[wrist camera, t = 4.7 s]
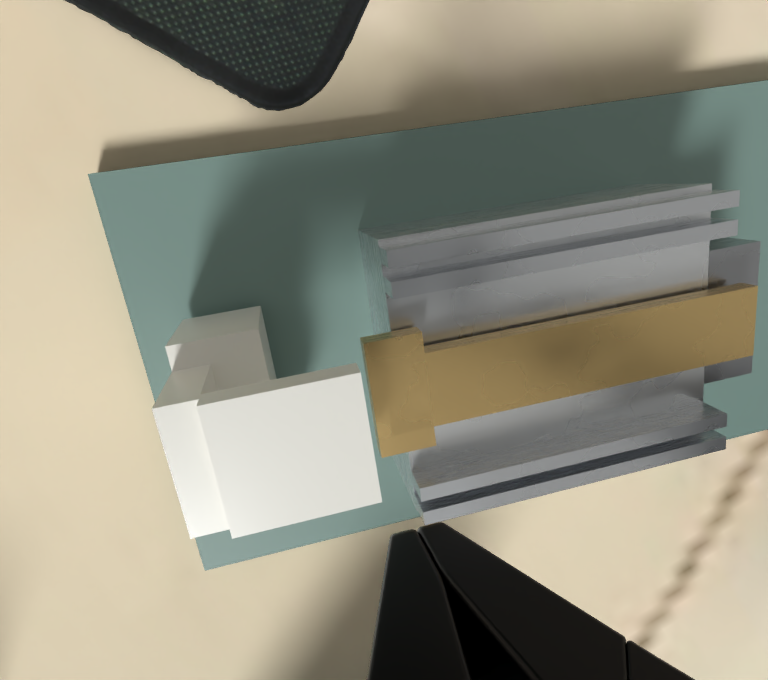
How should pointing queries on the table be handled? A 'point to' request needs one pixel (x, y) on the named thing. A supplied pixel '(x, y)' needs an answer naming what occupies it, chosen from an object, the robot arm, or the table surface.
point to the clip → (259, 431)
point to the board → (397, 205)
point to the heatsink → (551, 302)
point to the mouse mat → (244, 41)
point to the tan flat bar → (547, 360)
